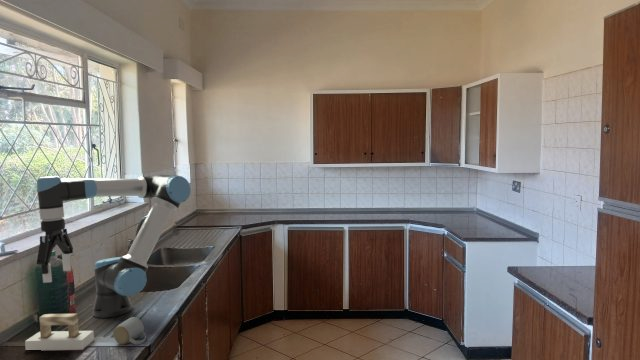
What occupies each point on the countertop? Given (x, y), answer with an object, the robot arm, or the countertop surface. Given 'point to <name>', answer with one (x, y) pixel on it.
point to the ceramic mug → (129, 331)
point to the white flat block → (60, 341)
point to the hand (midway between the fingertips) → (57, 276)
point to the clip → (59, 319)
